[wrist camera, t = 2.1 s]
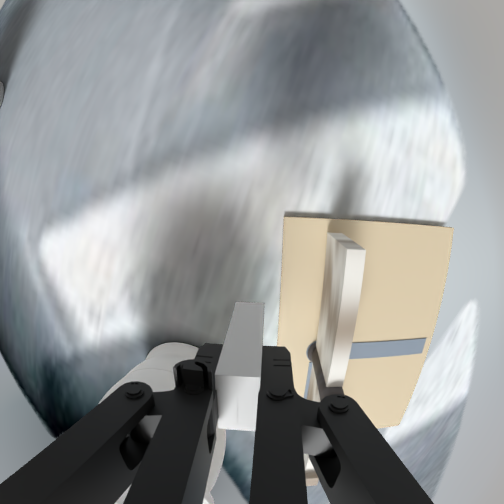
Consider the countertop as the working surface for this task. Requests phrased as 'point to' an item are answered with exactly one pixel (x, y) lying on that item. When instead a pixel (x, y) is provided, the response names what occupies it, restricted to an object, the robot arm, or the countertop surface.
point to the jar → (162, 379)
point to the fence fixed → (314, 396)
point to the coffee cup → (1, 92)
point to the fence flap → (337, 312)
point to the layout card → (367, 306)
